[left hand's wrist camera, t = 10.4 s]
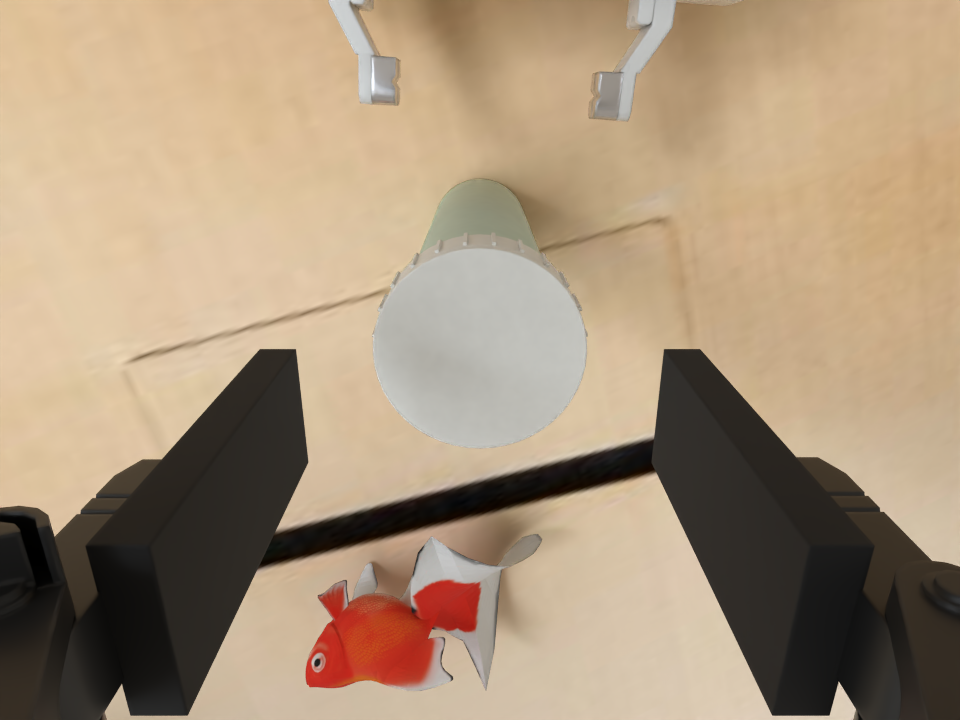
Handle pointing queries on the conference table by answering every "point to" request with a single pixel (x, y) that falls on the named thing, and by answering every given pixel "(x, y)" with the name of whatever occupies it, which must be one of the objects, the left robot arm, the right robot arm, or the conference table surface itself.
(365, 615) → the fish
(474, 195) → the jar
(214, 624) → the left robot arm
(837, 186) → the conference table surface
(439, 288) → the lid
